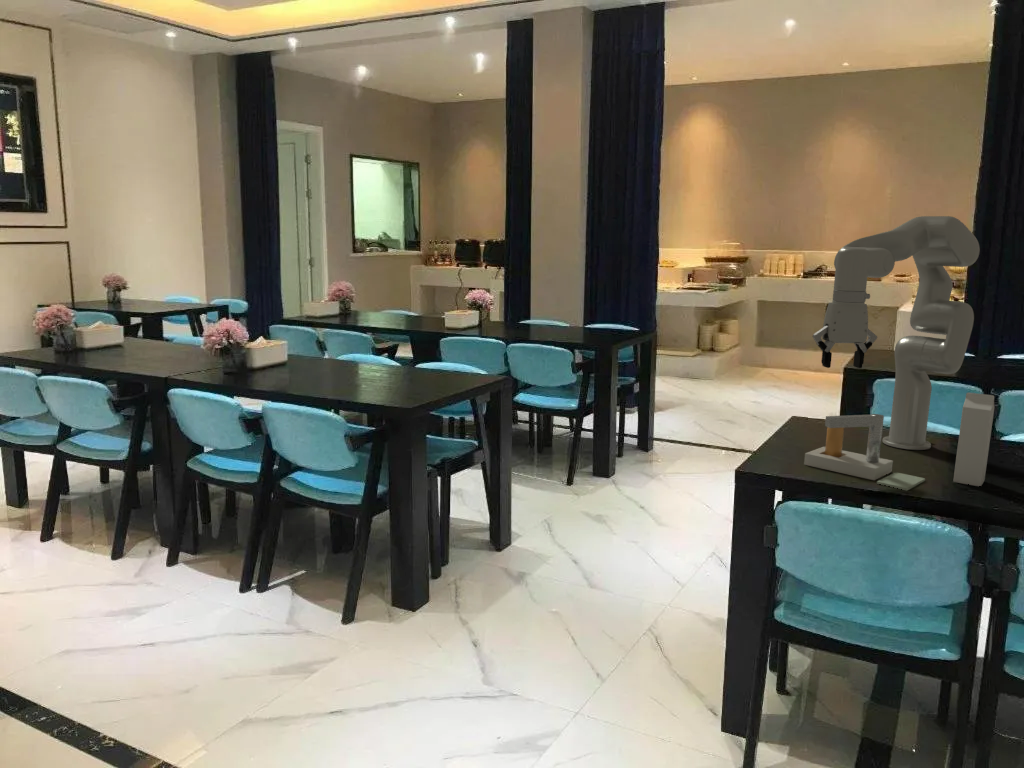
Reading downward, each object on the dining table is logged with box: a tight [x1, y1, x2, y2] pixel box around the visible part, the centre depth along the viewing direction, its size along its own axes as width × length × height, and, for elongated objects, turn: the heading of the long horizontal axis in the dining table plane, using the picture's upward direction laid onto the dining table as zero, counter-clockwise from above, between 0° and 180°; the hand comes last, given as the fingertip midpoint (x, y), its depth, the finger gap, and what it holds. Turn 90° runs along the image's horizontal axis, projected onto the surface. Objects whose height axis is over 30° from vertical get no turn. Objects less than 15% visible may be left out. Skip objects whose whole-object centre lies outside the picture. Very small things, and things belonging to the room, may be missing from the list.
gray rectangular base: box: [803, 446, 894, 481], centre depth 207 cm, size 11×18×3 cm, turn 45°
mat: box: [876, 471, 926, 492], centre depth 196 cm, size 12×7×1 cm, turn 135°
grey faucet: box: [824, 413, 885, 462], centre depth 200 cm, size 3×16×12 cm, turn 105°
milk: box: [952, 392, 995, 487], centre depth 196 cm, size 6×6×22 cm
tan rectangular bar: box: [824, 427, 845, 458], centre depth 209 cm, size 4×4×12 cm
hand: (841, 366), depth 205 cm, fingers open, 7 cm apart
